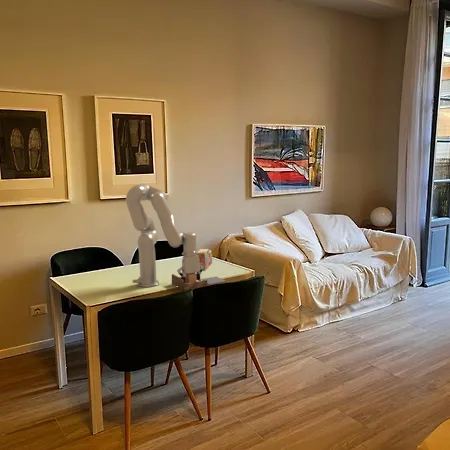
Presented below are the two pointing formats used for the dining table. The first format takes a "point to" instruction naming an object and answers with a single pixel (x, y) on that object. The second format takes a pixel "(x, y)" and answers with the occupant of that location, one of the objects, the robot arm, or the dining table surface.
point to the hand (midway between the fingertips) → (191, 281)
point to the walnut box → (180, 283)
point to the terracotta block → (190, 278)
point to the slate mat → (213, 280)
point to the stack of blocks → (205, 258)
